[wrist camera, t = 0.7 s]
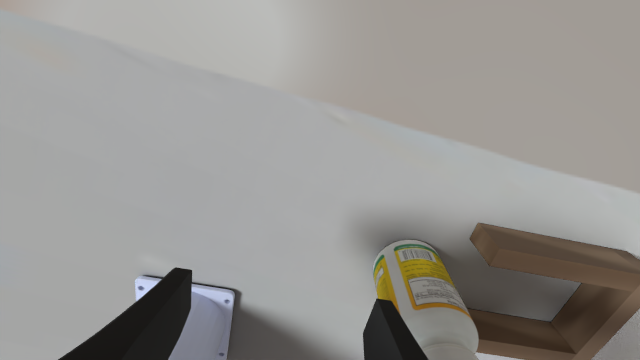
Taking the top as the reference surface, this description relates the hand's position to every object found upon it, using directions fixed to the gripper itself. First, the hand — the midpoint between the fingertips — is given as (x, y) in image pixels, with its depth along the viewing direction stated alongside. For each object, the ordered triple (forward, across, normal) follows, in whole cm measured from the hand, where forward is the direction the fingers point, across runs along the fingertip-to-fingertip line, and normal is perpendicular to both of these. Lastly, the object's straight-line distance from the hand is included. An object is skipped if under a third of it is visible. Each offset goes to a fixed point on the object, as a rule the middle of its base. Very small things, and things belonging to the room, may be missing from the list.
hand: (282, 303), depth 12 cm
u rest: (+10, -20, +6) cm, 23 cm away
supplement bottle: (+11, -10, +5) cm, 15 cm away
